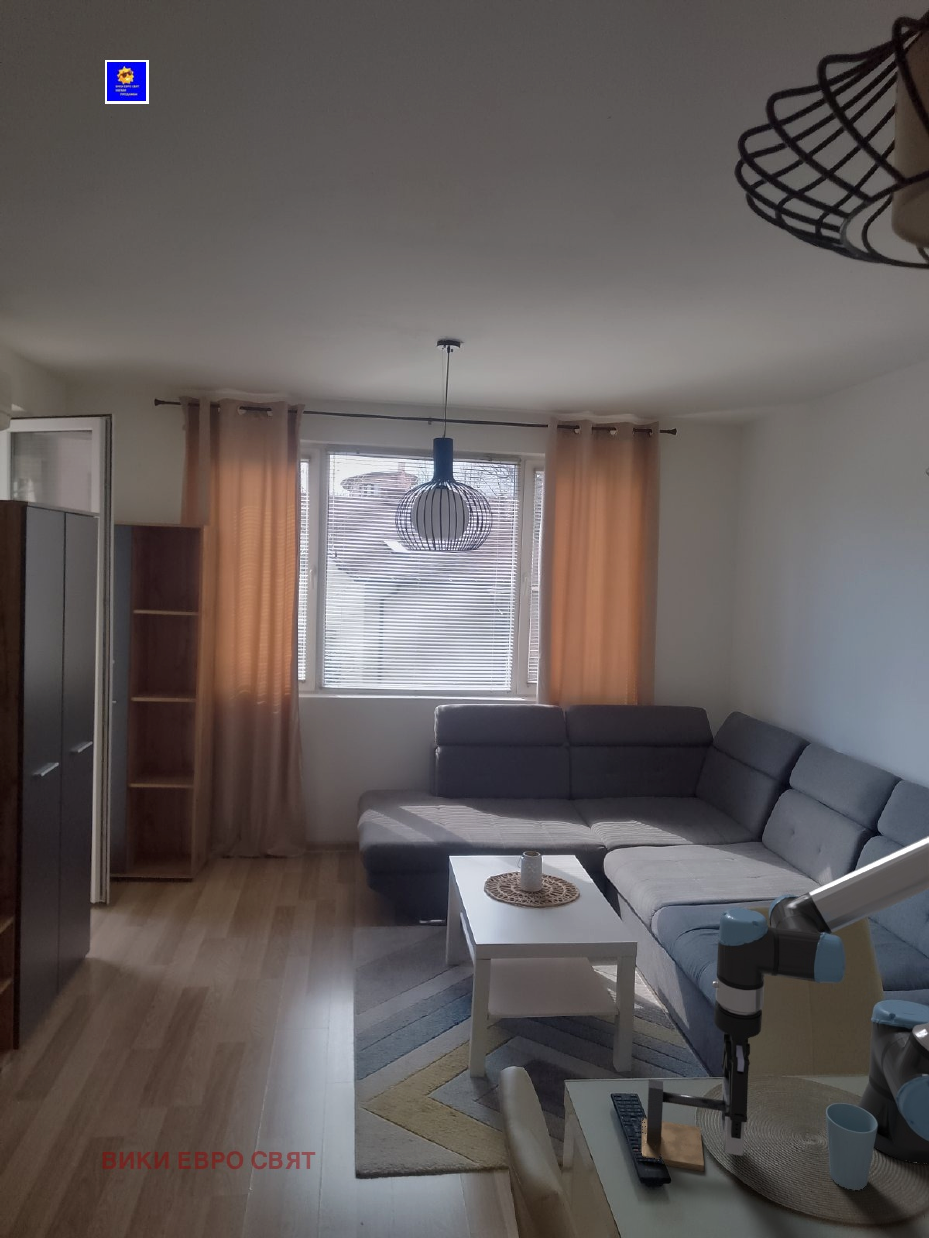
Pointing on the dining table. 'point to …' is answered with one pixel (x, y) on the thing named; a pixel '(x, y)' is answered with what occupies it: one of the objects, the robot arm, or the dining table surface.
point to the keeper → (674, 1129)
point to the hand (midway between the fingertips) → (731, 1135)
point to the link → (726, 1098)
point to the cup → (850, 1144)
